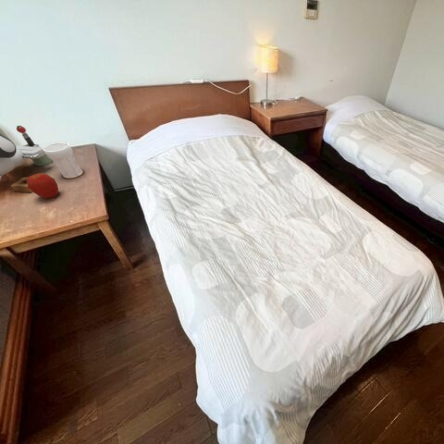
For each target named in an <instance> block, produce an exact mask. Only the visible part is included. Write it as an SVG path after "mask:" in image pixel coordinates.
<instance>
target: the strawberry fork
mask: <svg viewBox="0 0 444 444" xmlns="http://www.w3.org/2000/svg"><path fill="white" fill-rule="evenodd" d="M16 132H18V133H19V134H21V136H22V137H23V140H24V141H25V142H26V144H28V145H29V146H30V147H34V146H33V145H34V144H35V142H34V141H33V139H32V138H31V137H30V136H29V134H28V133H27V128H25V127H24V126H22V125H17V126H16Z"/></svg>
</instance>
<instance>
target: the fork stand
mask: <svg viewBox="0 0 444 444" xmlns="http://www.w3.org/2000/svg"><path fill="white" fill-rule="evenodd" d="M28 178H29V177H25V176H22V177H21V178H20V179H18V180H17V181H15V182H14V183H12V184H10V187H11V188H12V189H13V191H14V192H18V193H33V192H32V191H31V190H30V189H29V188H28V186H27V180H28Z"/></svg>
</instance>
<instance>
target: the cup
mask: <svg viewBox="0 0 444 444" xmlns="http://www.w3.org/2000/svg"><path fill="white" fill-rule="evenodd" d="M43 151H44V153H45V154H46V155H47V157H48V158H50V159H52V163H53V164H54V165H55V167H56V168H57V169H58V171H59V172H60V174H61V175H62V177H63V178H64V179H67V180H68V179H69V180H70V179H75V178H79V177H80V176H82V175H83V173H84V172H83V169H81V167H80V166H79V164H78V162H77V160H76V158H75V157H74V155H73V154H74V151H73V149H72V147H71V146H70V144H69V143H68V142H64V141H63V142H62V141H58V142H52V143H49V144H46V145H44V146H43Z"/></svg>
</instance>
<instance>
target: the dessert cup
mask: <svg viewBox="0 0 444 444" xmlns="http://www.w3.org/2000/svg"><path fill="white" fill-rule="evenodd" d="M31 161H32V163H34V165H35V166H37V167H38V166H39V167H41V166H47V165H49V164H52V163H53V161H52V159H50V158H48V157H47V155H46V154H45V155H43V156H41V157H39V158H36V159H31Z"/></svg>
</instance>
